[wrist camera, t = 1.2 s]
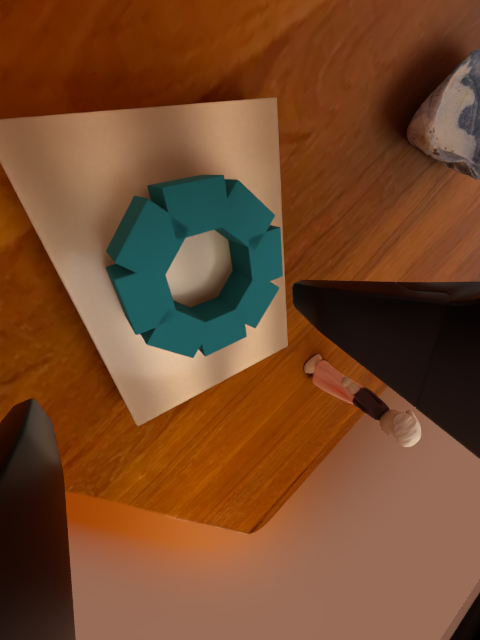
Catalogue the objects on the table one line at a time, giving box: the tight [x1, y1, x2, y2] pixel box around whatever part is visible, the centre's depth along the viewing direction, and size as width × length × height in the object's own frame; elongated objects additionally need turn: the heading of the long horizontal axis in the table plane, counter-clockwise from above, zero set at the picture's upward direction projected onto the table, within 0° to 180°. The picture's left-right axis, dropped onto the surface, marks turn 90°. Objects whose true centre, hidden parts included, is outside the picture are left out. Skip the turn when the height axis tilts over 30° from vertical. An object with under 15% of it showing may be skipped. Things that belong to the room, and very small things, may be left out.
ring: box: [106, 175, 283, 358], centre depth 16 cm, size 10×10×2 cm
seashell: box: [407, 49, 480, 180], centre depth 27 cm, size 15×12×5 cm
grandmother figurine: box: [304, 354, 421, 447], centre depth 30 cm, size 8×4×13 cm, turn 54°
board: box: [0, 97, 288, 426], centre depth 19 cm, size 14×18×3 cm
